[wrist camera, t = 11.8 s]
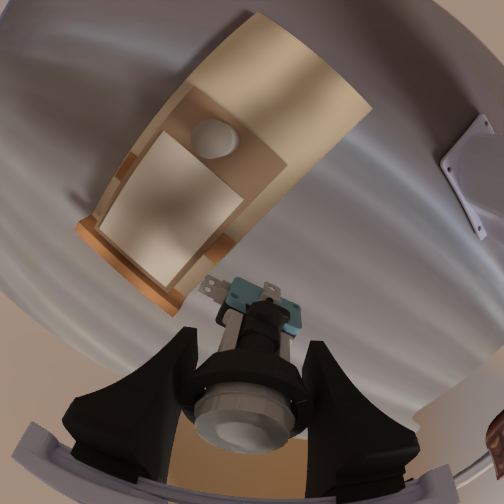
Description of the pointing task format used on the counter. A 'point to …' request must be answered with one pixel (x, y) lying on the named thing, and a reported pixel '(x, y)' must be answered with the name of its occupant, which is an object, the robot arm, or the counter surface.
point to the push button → (249, 372)
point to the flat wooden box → (259, 123)
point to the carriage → (186, 189)
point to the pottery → (496, 444)
